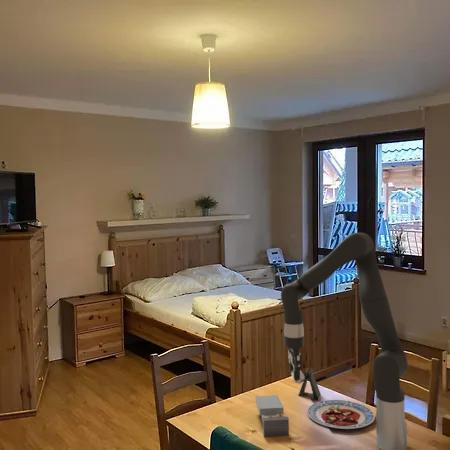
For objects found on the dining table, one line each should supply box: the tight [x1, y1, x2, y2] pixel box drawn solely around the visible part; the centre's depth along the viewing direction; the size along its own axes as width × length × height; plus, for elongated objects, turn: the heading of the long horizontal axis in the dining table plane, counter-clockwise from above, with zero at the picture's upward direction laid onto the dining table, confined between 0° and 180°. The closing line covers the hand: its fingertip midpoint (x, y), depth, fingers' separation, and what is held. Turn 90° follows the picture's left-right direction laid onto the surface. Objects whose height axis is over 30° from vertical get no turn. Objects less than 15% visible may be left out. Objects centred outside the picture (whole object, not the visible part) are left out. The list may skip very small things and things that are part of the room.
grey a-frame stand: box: [298, 367, 322, 401], centre depth 216 cm, size 9×6×12 cm, turn 70°
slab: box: [254, 394, 285, 416], centre depth 193 cm, size 9×12×2 cm
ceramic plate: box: [306, 399, 376, 430], centre depth 195 cm, size 26×26×3 cm
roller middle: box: [261, 414, 281, 423], centre depth 191 cm, size 7×4×4 cm, turn 94°
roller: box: [290, 369, 305, 384], centre depth 192 cm, size 7×4×4 cm, turn 4°
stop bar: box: [262, 416, 290, 438], centre depth 180 cm, size 9×2×7 cm, turn 94°
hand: (294, 376), depth 192 cm, fingers closed on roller, 6 cm apart
